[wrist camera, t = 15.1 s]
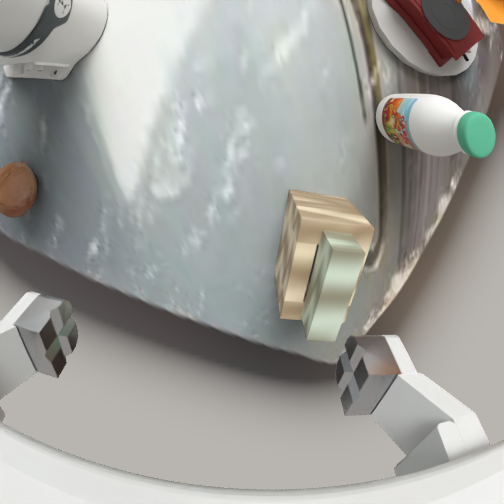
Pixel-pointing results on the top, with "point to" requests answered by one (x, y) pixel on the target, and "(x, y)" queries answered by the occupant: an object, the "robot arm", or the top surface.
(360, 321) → the top surface
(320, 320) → the rail end
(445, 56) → the gramophone
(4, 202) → the onion
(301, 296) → the wooden square frame
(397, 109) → the milk bottle
